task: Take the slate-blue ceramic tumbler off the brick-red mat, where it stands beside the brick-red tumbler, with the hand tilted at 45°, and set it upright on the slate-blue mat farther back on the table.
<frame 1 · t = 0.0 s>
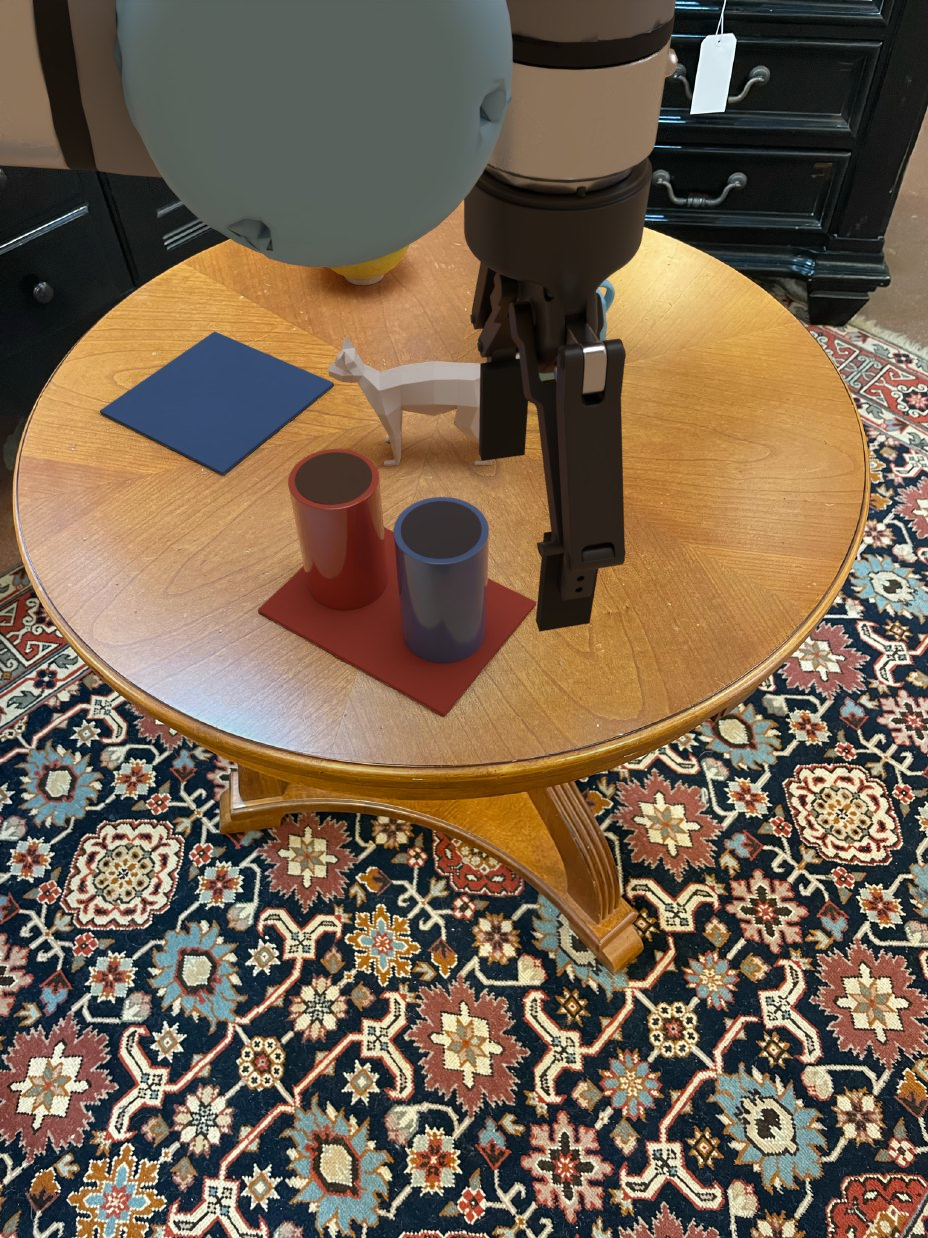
hand: (529, 532, 54), 20 cm above the table, tool pointing down, fingers open, 13 cm apart
teapot: (540, 362, 98), on the table
bowl: (364, 276, 108), on the table
red mat: (397, 608, 76), on the table
cat figurine: (447, 453, 89), on the table
red tumbler: (347, 579, 78), resting on red mat
blue tumbler: (443, 629, 74), resting on red mat
blue mat: (219, 399, 94), on the table
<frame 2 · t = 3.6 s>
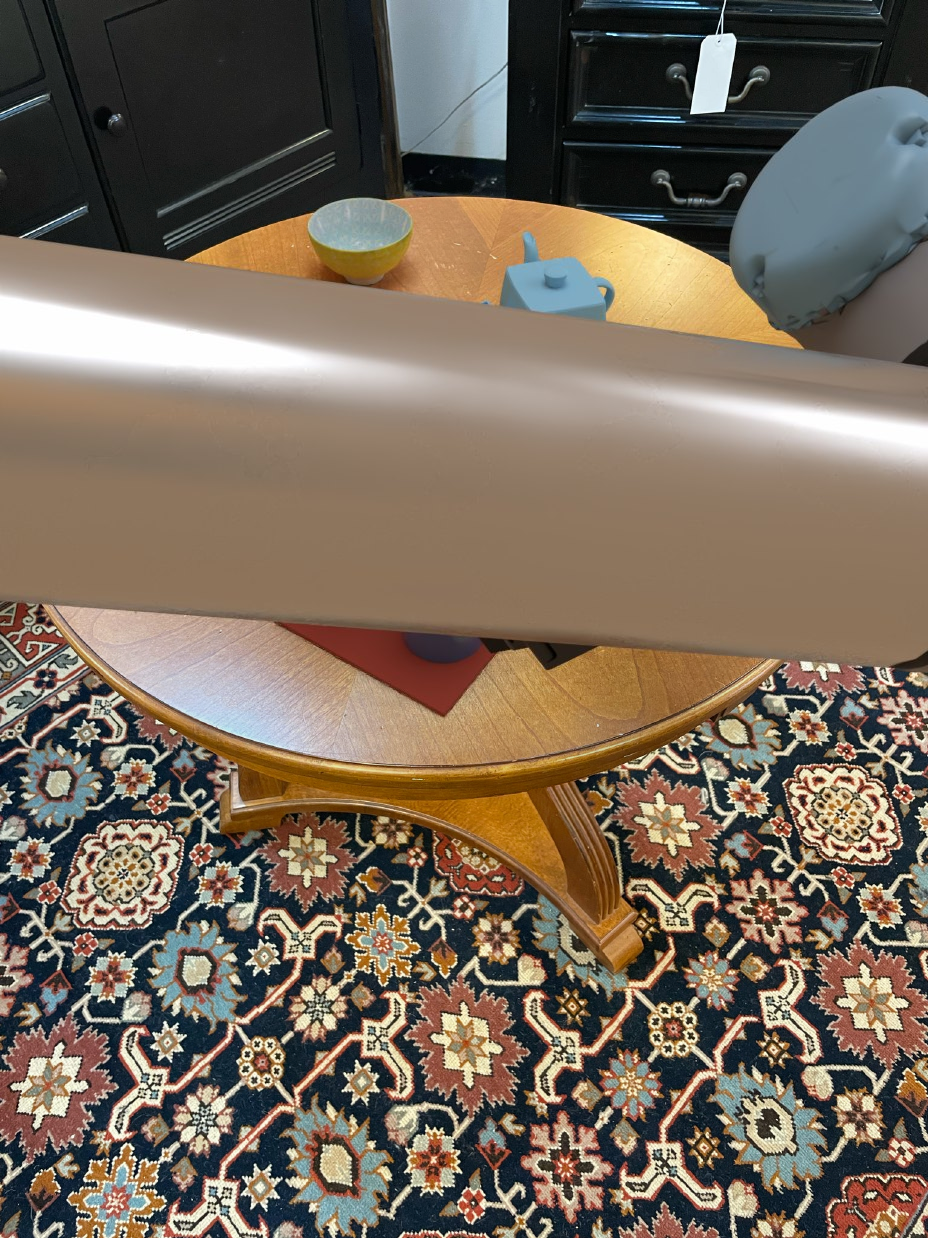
hand: (537, 566, 62), 12 cm above the table, tool tilted 45°, fingers open, 13 cm apart
nothing on the table moved.
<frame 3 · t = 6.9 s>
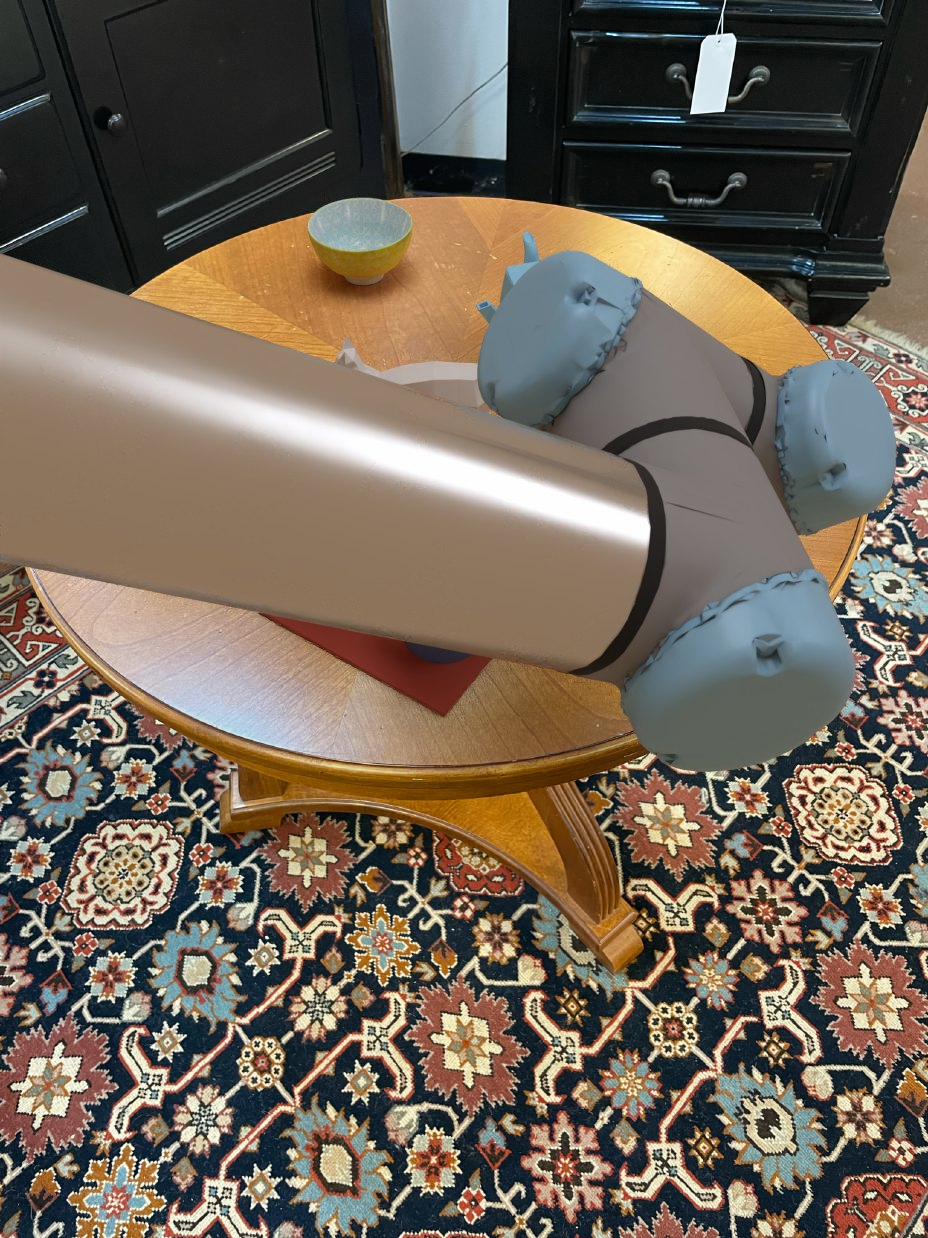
hand: (405, 584, 73), 3 cm above the table, tool tilted 45°, fingers closed on blue tumbler, 7 cm apart
blue tumbler: (443, 629, 74), resting on red mat, touching gripper
everything else where it was.
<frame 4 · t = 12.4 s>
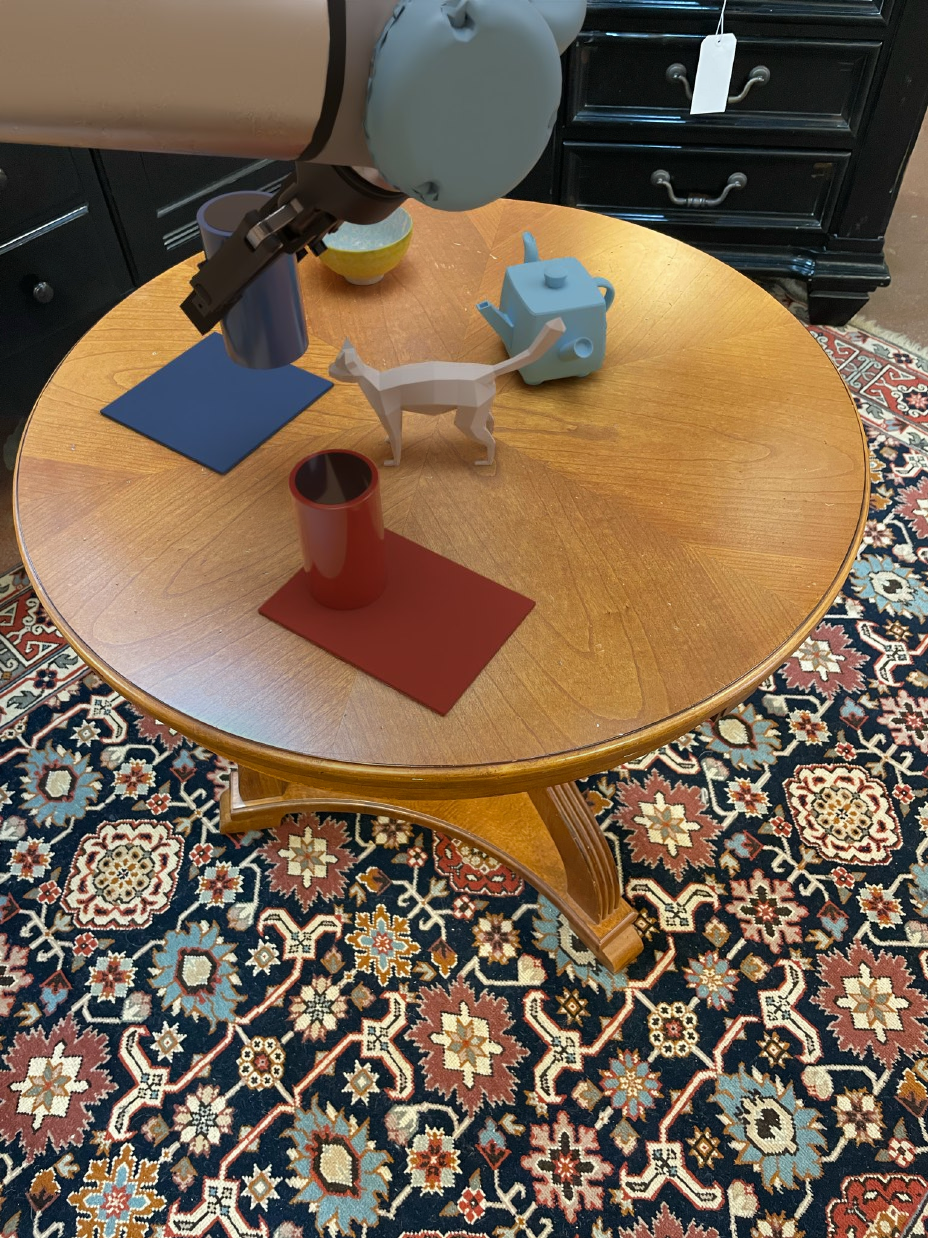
hand: (227, 297, 75), 16 cm above the table, tool tilted 45°, fingers closed on blue tumbler, 7 cm apart
blue tumbler: (267, 345, 77), point 13 cm above the table, touching gripper
everything else where it was.
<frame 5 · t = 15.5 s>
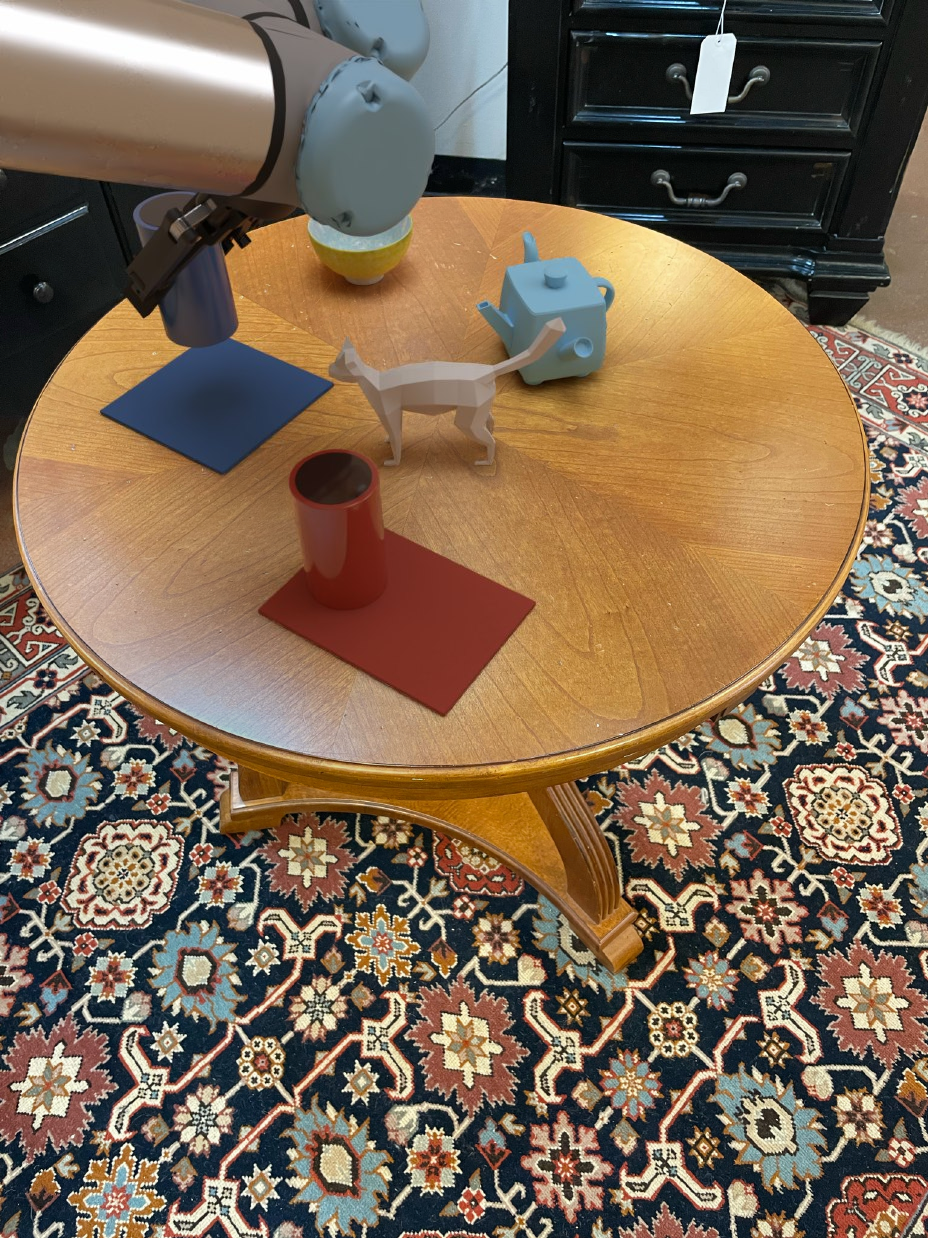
hand: (166, 284, 86), 11 cm above the table, tool tilted 45°, fingers closed on blue tumbler, 7 cm apart
blue tumbler: (202, 326, 87), point 8 cm above the table, touching gripper
everything else where it was.
when the fingers open (3 cm above the table, at t = 18.0 s): blue tumbler stays where it is, resting on blue mat.
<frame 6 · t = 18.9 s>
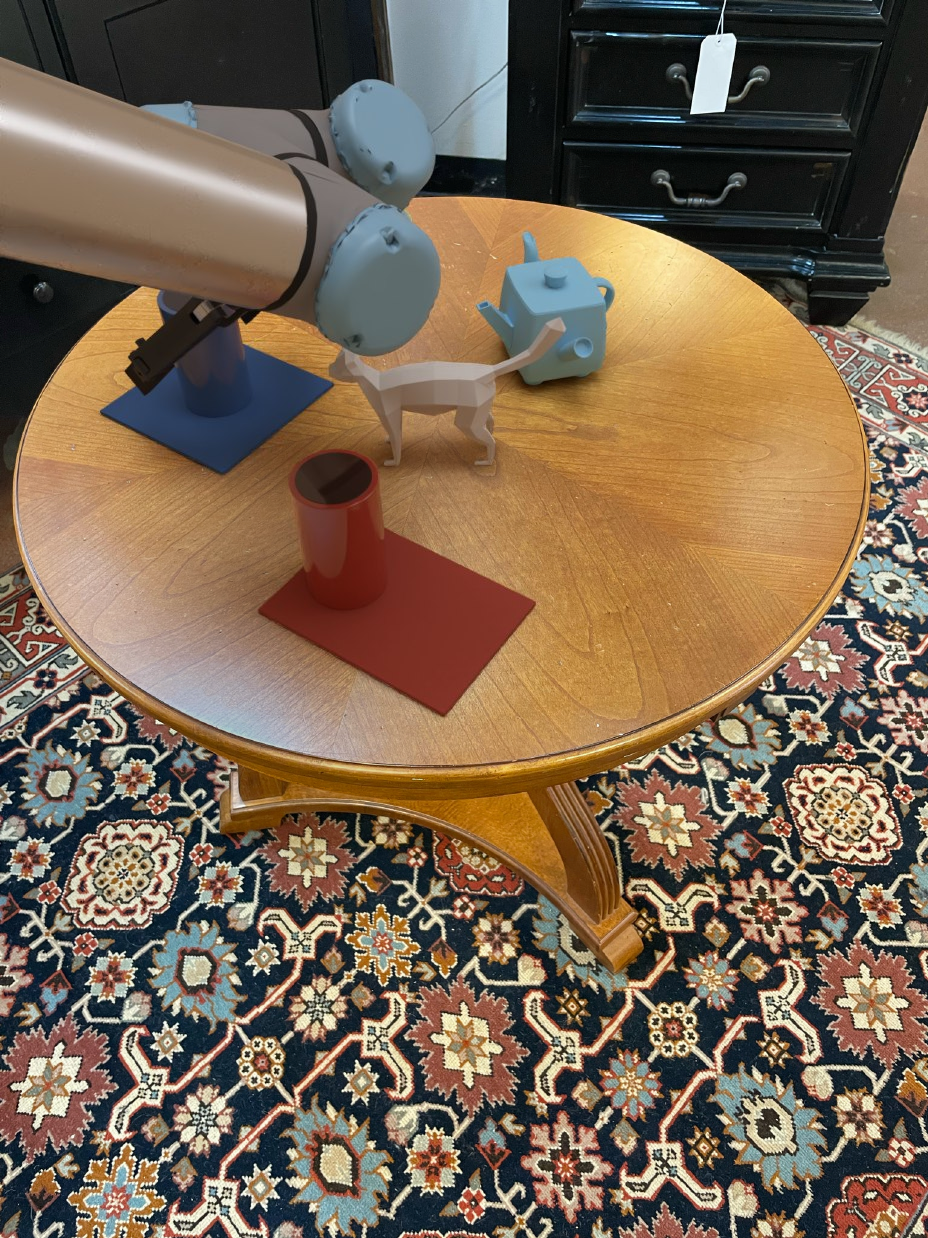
hand: (190, 345, 90), 5 cm above the table, tool tilted 45°, fingers open, 13 cm apart
blue tumbler: (218, 396, 93), resting on blue mat
everything else where it was.
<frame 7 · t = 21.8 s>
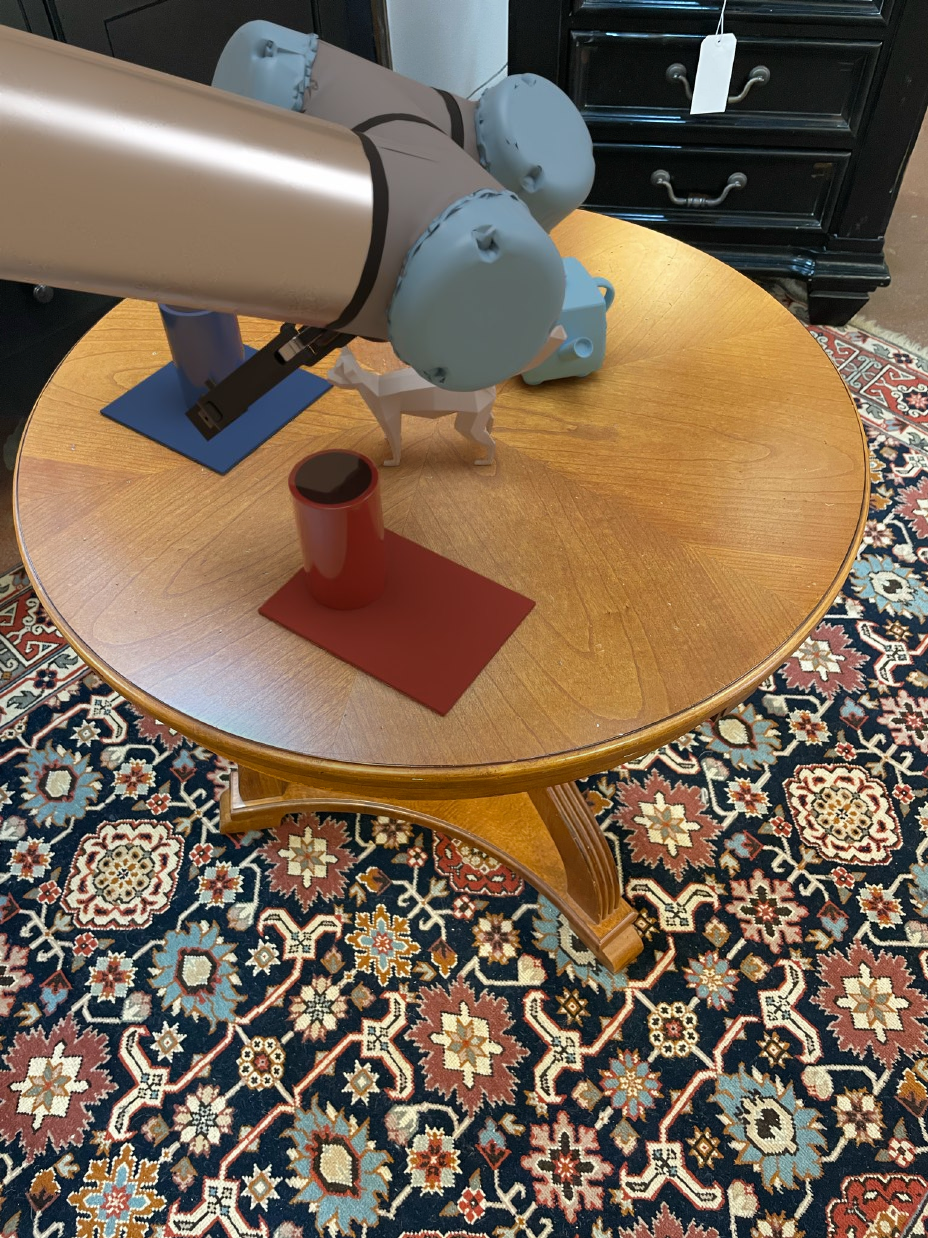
hand: (257, 381, 78), 10 cm above the table, tool tilted 45°, fingers open, 13 cm apart
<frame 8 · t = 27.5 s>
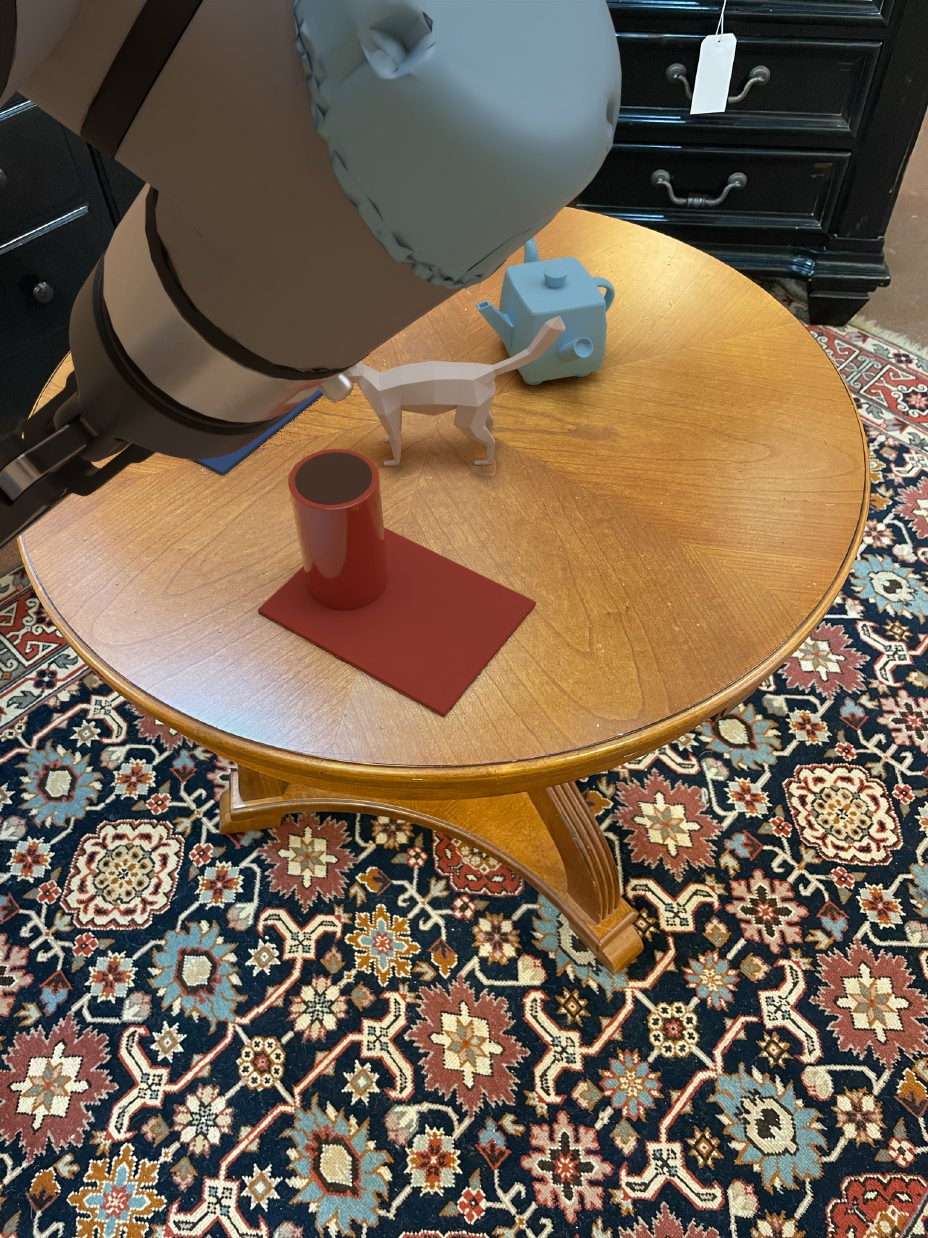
hand: (55, 488, 48), 26 cm above the table, tool tilted 45°, fingers open, 13 cm apart
at the end: blue tumbler inside the target area on the blue mat (0.1 cm from its centre), point 0.4 cm above the blue mat's base; blue tumbler tilted 0°; red tumbler inside the target area on the red mat (1.0 cm from its centre), point 0.4 cm above the red mat's base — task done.
